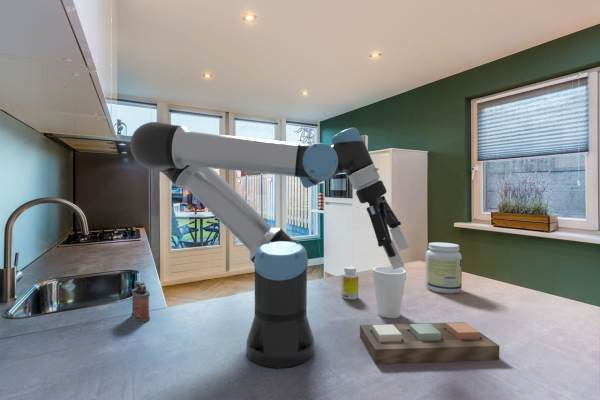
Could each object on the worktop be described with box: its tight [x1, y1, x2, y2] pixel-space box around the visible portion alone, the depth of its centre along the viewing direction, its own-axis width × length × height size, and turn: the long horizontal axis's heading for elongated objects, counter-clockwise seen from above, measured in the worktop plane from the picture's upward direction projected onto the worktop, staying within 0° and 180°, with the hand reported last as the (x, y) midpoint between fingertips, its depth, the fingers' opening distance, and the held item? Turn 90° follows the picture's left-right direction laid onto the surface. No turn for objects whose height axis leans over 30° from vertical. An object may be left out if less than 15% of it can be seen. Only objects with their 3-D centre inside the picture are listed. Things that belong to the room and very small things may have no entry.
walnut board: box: [359, 321, 500, 365], centre depth 70 cm, size 27×12×3 cm, turn 94°
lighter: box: [131, 280, 151, 324], centre depth 86 cm, size 8×3×10 cm, turn 47°
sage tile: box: [409, 323, 441, 341], centre depth 70 cm, size 5×5×2 cm
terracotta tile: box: [445, 322, 481, 340], centre depth 71 cm, size 5×5×2 cm
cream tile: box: [371, 324, 402, 342], centre depth 69 cm, size 5×5×2 cm
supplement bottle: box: [341, 265, 359, 300], centre depth 104 cm, size 6×6×10 cm
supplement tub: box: [425, 241, 463, 295], centre depth 114 cm, size 12×12×17 cm
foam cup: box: [372, 265, 407, 319], centre depth 90 cm, size 10×9×13 cm
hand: (401, 257), depth 81 cm, fingers open, 13 cm apart
